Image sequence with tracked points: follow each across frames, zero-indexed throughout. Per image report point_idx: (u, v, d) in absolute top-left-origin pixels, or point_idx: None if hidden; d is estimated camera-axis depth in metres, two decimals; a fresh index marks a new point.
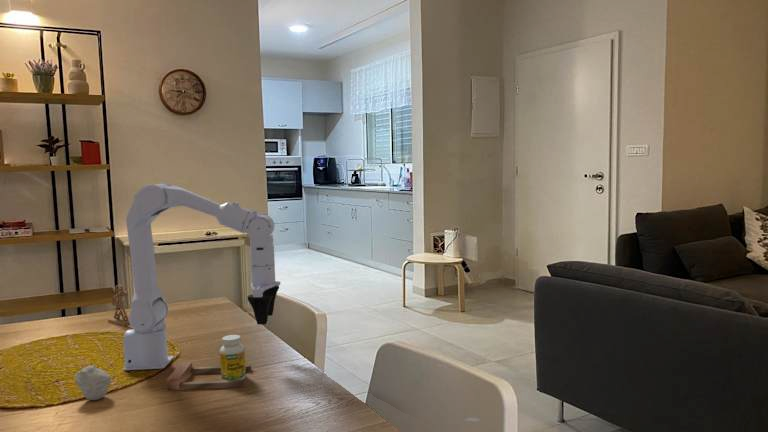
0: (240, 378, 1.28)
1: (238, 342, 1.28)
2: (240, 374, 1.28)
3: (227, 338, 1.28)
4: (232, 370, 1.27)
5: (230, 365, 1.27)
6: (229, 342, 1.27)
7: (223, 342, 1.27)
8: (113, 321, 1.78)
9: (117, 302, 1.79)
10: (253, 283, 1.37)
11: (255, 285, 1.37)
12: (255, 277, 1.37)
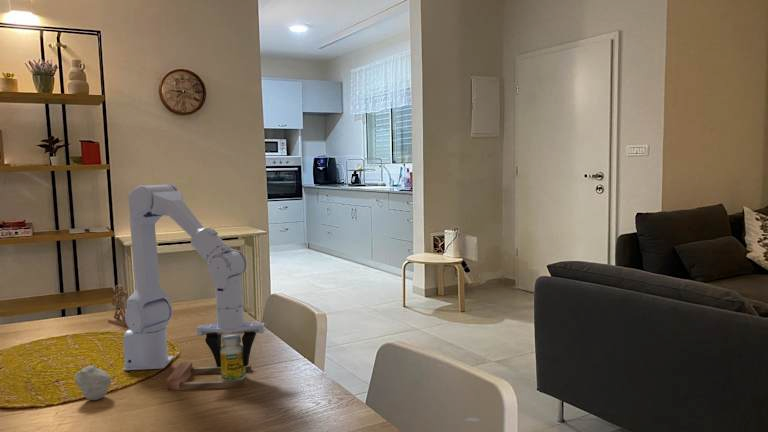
0: (240, 378, 1.28)
1: (238, 342, 1.28)
2: (240, 374, 1.28)
3: (227, 338, 1.28)
4: (232, 369, 1.27)
5: (230, 365, 1.27)
6: (229, 342, 1.27)
7: (223, 342, 1.27)
8: (113, 321, 1.78)
9: (117, 302, 1.79)
10: None
11: None
12: None
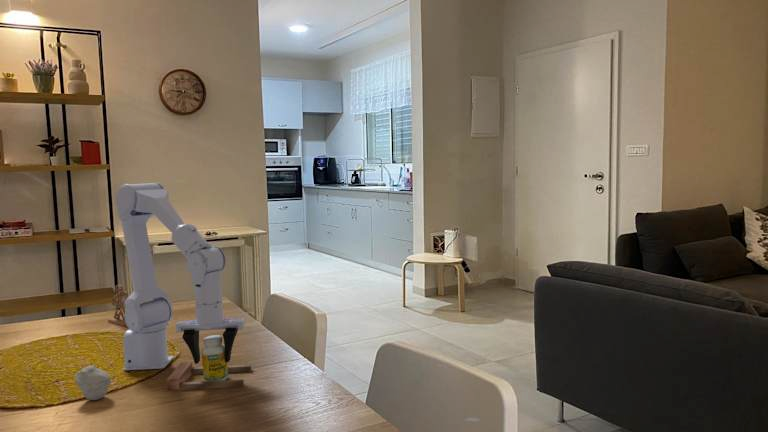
0: (222, 378, 1.28)
1: (219, 342, 1.28)
2: (222, 374, 1.27)
3: (208, 339, 1.28)
4: (214, 370, 1.26)
5: (212, 366, 1.26)
6: (210, 343, 1.26)
7: (204, 343, 1.27)
8: (113, 321, 1.78)
9: (117, 302, 1.79)
10: None
11: None
12: None
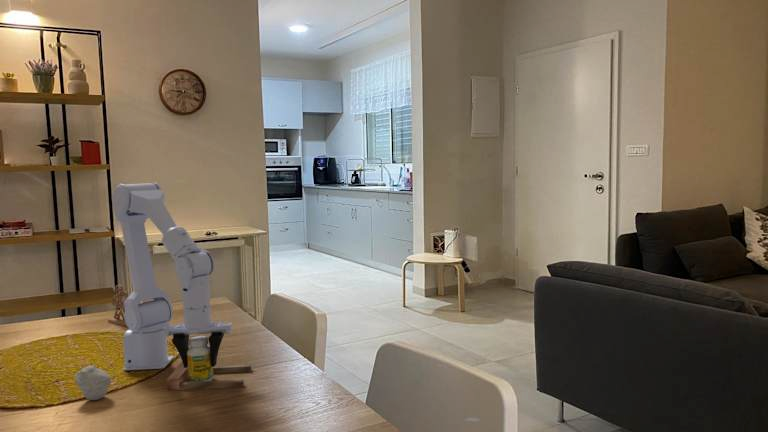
0: (207, 380, 1.27)
1: (205, 344, 1.27)
2: (206, 375, 1.27)
3: (194, 339, 1.27)
4: (199, 371, 1.26)
5: (197, 367, 1.26)
6: (195, 344, 1.26)
7: (190, 343, 1.27)
8: (113, 321, 1.78)
9: (117, 302, 1.79)
10: None
11: None
12: None
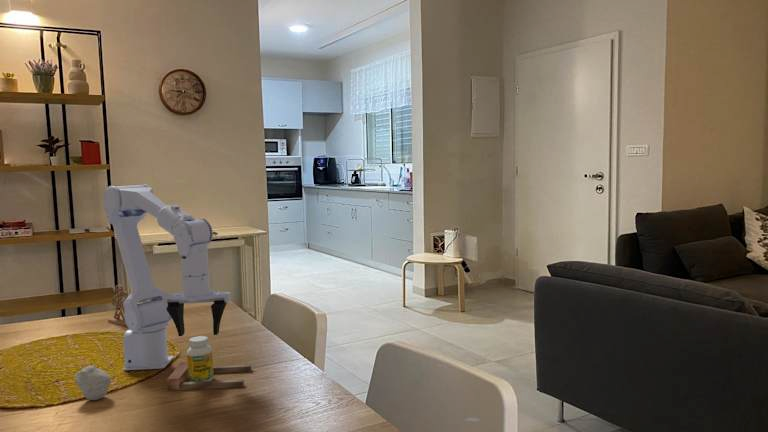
0: (207, 380, 1.27)
1: (205, 344, 1.27)
2: (206, 375, 1.27)
3: (194, 339, 1.27)
4: (199, 371, 1.26)
5: (197, 367, 1.26)
6: (195, 344, 1.26)
7: (190, 343, 1.27)
8: (113, 321, 1.78)
9: (117, 302, 1.79)
10: None
11: None
12: None
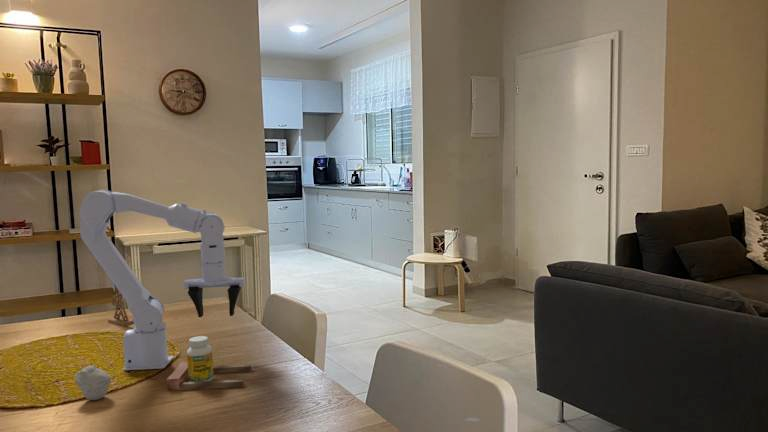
0: (207, 380, 1.27)
1: (205, 344, 1.27)
2: (206, 375, 1.27)
3: (194, 339, 1.27)
4: (199, 371, 1.26)
5: (197, 367, 1.26)
6: (195, 344, 1.26)
7: (190, 343, 1.27)
8: (113, 321, 1.78)
9: (117, 302, 1.79)
10: None
11: None
12: None
